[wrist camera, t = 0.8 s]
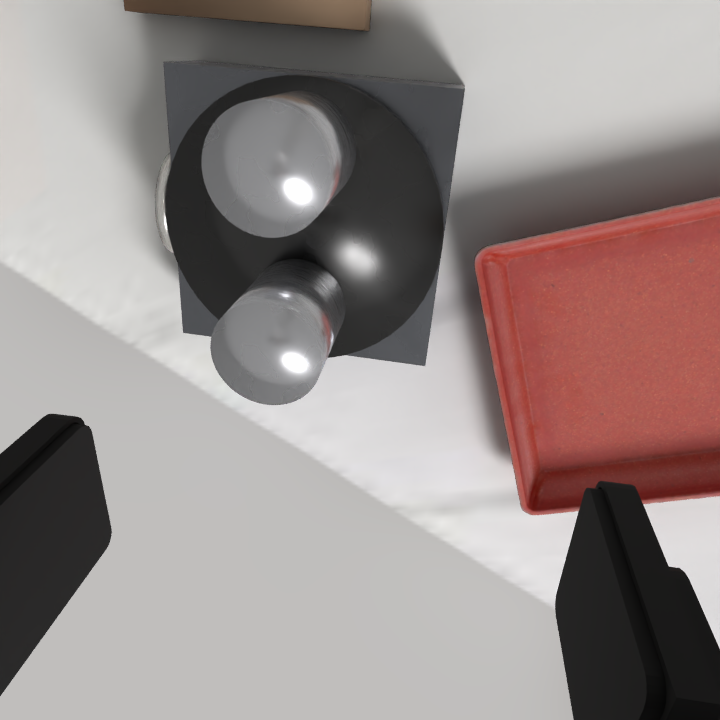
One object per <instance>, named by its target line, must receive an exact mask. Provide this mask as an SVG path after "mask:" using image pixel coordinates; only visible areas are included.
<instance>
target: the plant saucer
mask: <svg viewBox="0 0 720 720" xmlns="http://www.w3.org/2000/svg"><path fill="white" fill-rule="evenodd" d="M474 266H475V272H476V277H477V282H478V287H479V293H480V298H481V305H482V310H483V315H484V319H485V325H486V331H487V336H488V341H489V347H490V352H491V357H492V362H493V369H494V374H495V377H496V381H497V387H498V394H499V397H500V403H501V407H502V413H503V418H504V424H505V428H506V432H507V438H508V443H509V448H510V453H511V458H512V464H513V469H514V473H515V479H516V484H517V490H518V495H519V499H520V505H521V508H522V510H523V511H524V512H526V513H528V514H530V515H545V514H554V513H564V512H575V511H579V509H580V505H581V502H582V498H583V494H584V491H585V489H586V488H595V487H596V485H597V483H598V482H599V481H607V482H615V483H623V484H631V485H634V486H635V487H636V489H637V491H638V493H639V496H640V498H641V501H642V503H643V504H650V503H660V502H668V501H677V500H687V499H699V498H706V497H714V496H720V196H716V197H712V198H708V199H703V200H698V201H693V202H689V203H685V204H680V205H675V206H670V207H666V208H662V209H657V210H652V211H647V212H643V213H639V214H634V215H629V216H625V217H621V218H616V219H611V220H606V221H601V222H597V223H592V224H588V225H583V226H578V227H573V228H569V229H564V230H559V231H555V232H550V233H545V234H540V235H535V236H531V237H526V238H521V239H517V240H512V241H507V242H502V243H497V244H492V245H489V246H486V247H484V248H482V249H480V250H479V252H478V253H477V254H476V256H475V260H474Z"/></svg>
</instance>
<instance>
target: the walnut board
mask: <svg viewBox="0 0 720 720" xmlns="http://www.w3.org/2000/svg"><path fill="white" fill-rule="evenodd" d="M371 2H372V0H124V8H125V11H132V12H140V13H152V14H164V15H176V16H189V17H201V18H213V19H225V20H237V21H250V22H262V23H274V24H286V25H298V26H311V27H323V28H335V29H347V30H360V31H369V30H370V16H371Z"/></svg>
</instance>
